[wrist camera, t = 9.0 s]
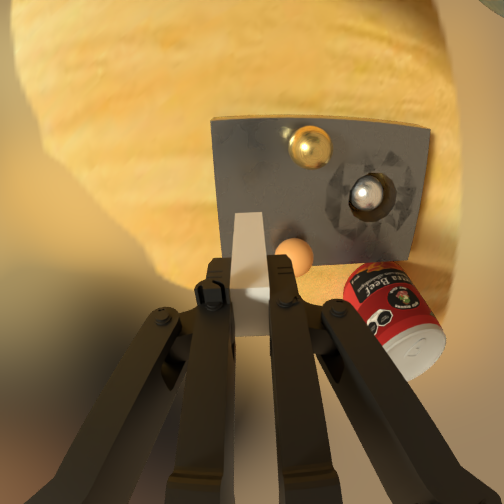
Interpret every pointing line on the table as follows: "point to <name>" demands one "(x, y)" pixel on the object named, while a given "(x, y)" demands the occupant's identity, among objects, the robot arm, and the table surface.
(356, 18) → the table surface
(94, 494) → the robot arm
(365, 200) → the steel ball
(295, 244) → the orange ball
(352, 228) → the bearing plate
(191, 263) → the table surface
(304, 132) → the brass ball
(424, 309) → the canned food
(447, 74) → the table surface
